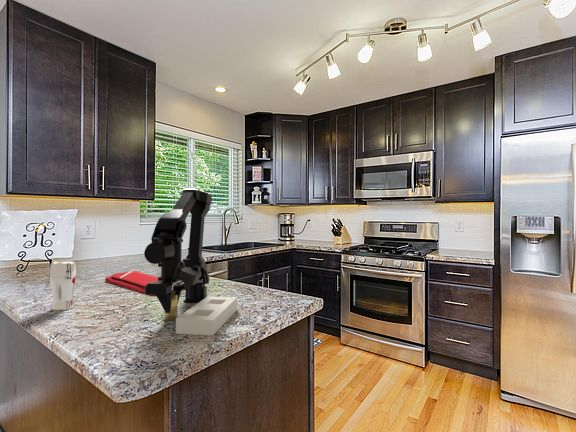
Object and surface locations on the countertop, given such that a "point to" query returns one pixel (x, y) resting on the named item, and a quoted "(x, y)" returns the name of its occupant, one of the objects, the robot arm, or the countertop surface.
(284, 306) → the countertop surface
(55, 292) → the white carton
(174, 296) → the cylinder
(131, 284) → the dish drying mat
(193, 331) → the block
